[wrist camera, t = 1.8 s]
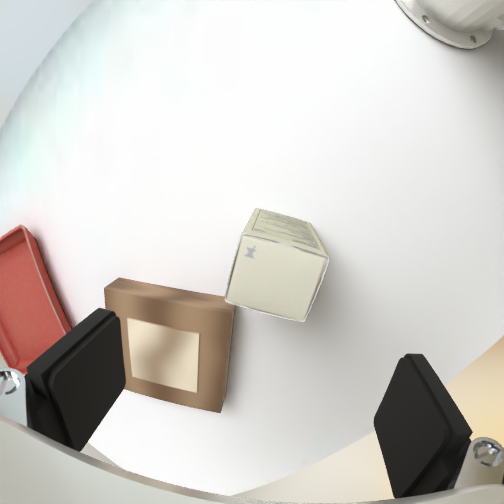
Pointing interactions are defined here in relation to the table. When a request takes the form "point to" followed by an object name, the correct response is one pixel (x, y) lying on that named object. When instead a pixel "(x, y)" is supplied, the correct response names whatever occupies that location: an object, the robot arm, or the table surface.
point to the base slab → (173, 342)
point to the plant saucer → (26, 302)
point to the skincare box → (277, 266)
